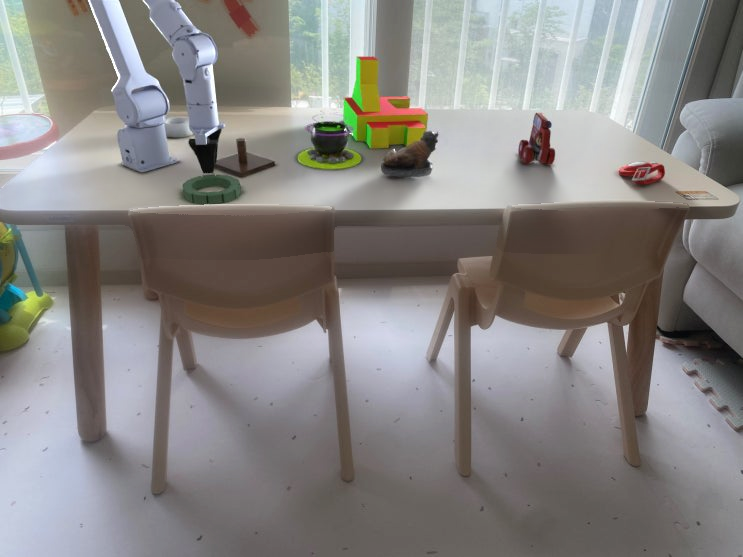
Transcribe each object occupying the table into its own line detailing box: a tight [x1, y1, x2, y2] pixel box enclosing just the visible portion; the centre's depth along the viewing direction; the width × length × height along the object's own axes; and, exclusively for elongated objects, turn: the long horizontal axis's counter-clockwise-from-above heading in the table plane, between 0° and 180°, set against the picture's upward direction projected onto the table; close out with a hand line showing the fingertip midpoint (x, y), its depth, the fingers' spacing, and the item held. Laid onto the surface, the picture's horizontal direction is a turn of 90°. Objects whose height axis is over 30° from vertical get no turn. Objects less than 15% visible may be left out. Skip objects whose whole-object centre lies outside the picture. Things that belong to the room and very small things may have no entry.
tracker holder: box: [617, 161, 666, 185], centre depth 121 cm, size 12×4×10 cm
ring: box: [181, 173, 242, 205], centre depth 105 cm, size 11×11×2 cm
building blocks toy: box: [342, 56, 429, 149], centre depth 140 cm, size 19×25×18 cm
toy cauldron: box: [297, 108, 362, 170], centre depth 123 cm, size 15×15×11 cm
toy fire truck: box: [517, 112, 556, 166], centre depth 127 cm, size 7×12×10 cm, turn 178°
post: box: [214, 137, 276, 178], centre depth 118 cm, size 10×10×6 cm
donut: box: [164, 116, 194, 139], centre depth 136 cm, size 10×4×10 cm
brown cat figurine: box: [380, 130, 439, 178], centre depth 115 cm, size 12×7×10 cm, turn 89°
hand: (209, 167), depth 111 cm, fingers open, 5 cm apart
